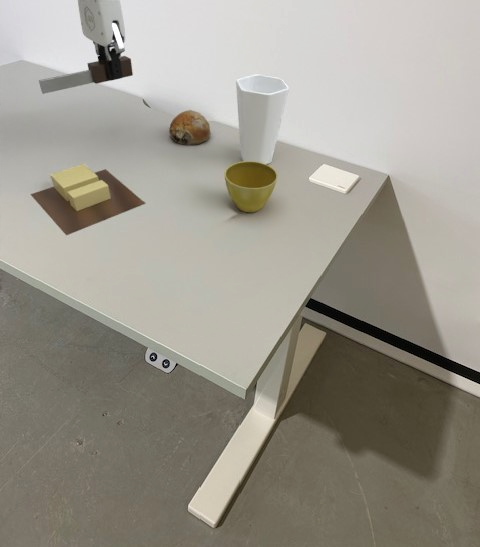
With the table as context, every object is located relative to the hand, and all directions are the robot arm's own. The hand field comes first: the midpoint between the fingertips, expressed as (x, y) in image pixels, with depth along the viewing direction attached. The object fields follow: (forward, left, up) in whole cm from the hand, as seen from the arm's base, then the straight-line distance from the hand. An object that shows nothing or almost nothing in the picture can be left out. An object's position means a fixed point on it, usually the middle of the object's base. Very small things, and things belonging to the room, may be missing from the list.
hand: (111, 76), depth 91 cm
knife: (-5, 0, 0) cm, 5 cm away
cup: (+21, -26, -15) cm, 36 cm away
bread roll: (+15, -8, -15) cm, 23 cm away
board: (-18, -20, -15) cm, 31 cm away
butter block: (-18, -15, -14) cm, 28 cm away
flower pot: (+7, -39, -15) cm, 42 cm away
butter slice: (-18, -21, -14) cm, 31 cm away
